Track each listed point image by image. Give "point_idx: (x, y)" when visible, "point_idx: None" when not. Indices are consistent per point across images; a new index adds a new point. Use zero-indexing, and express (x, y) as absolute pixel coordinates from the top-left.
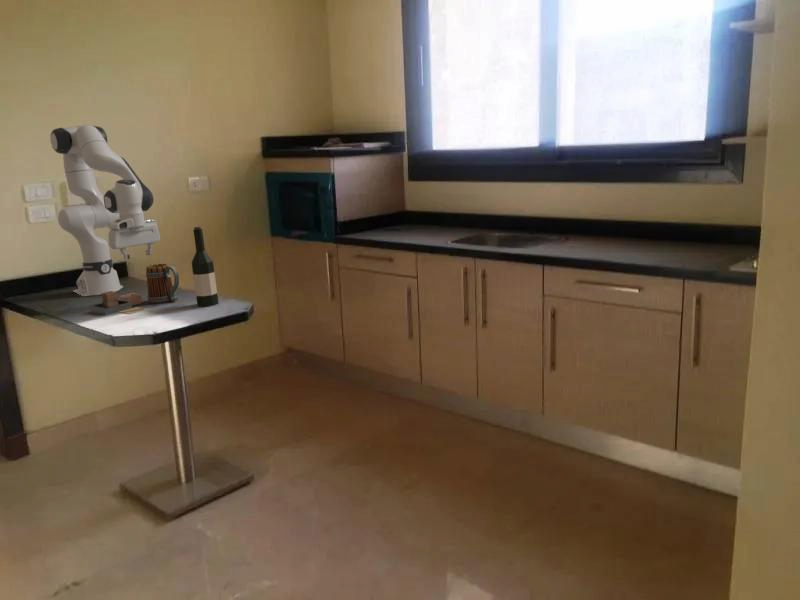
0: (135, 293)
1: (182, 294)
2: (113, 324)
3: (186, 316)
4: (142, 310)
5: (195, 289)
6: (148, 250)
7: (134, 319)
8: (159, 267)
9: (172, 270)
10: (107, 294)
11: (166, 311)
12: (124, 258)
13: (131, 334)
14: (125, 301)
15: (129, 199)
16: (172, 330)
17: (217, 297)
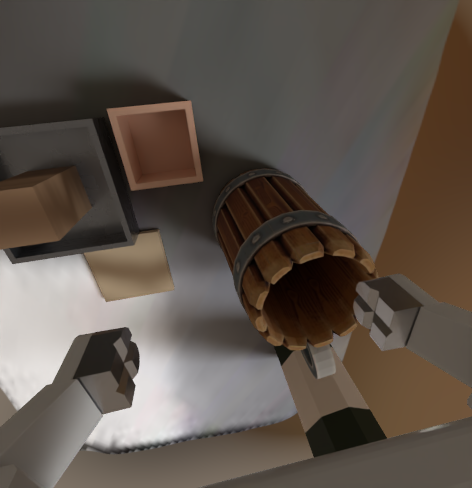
0: (194, 133)
1: (368, 157)
2: (44, 351)
3: (207, 392)
4: (152, 292)
5: (291, 377)
6: (414, 327)
7: None
8: (293, 347)
9: (312, 369)
10: (7, 247)
11: (202, 330)
12: (78, 345)
13: None
14: (118, 209)
15: None
16: (143, 446)
17: None
